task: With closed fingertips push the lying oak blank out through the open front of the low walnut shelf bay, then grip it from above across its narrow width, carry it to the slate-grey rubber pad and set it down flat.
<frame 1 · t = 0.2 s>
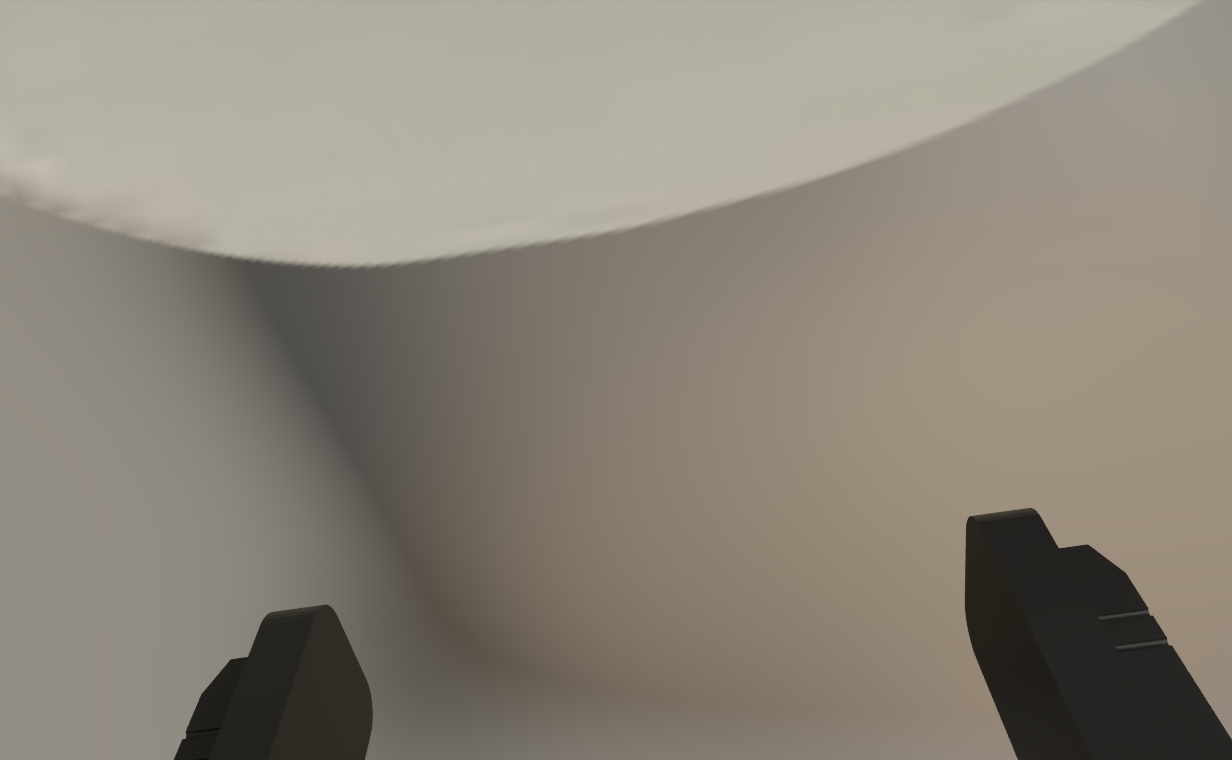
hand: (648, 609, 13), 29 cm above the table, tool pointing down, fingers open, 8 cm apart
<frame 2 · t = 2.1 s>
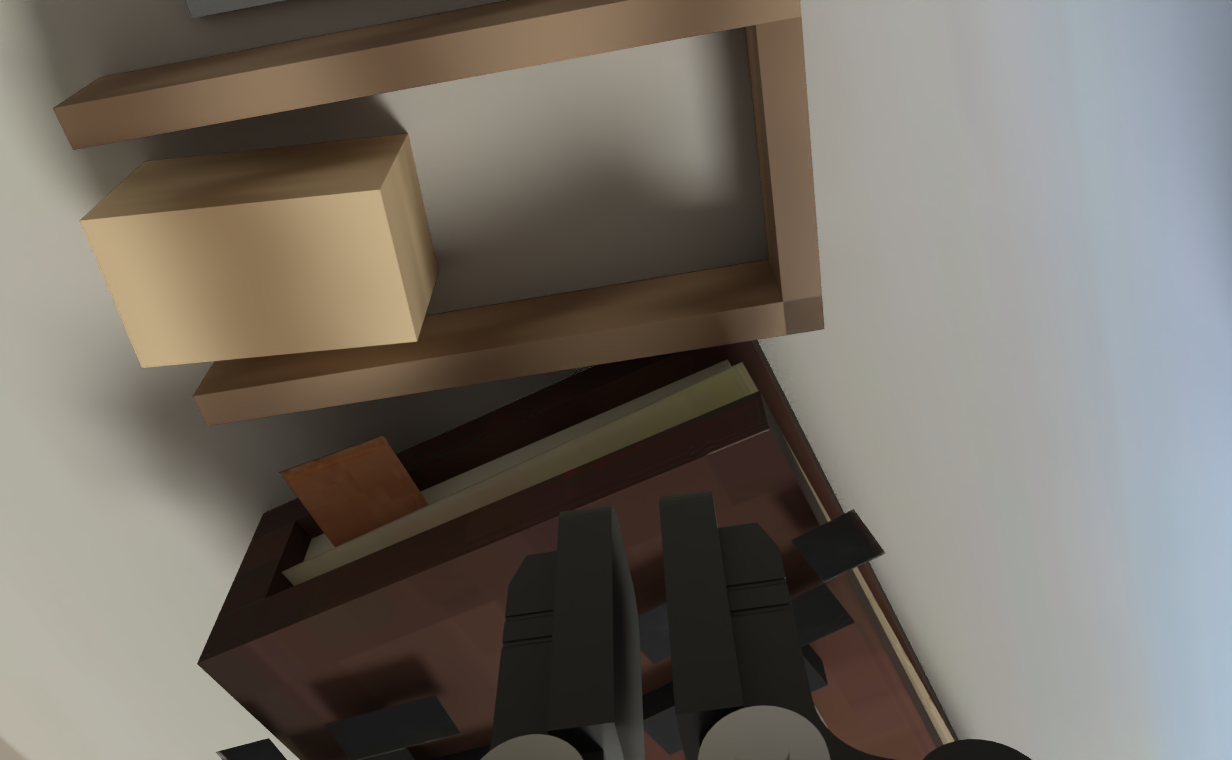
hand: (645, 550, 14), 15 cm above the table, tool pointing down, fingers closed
oak blank: (298, 216, 27), on the table
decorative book: (662, 653, 37), on the table
shelf bay: (475, 188, 27), on the table
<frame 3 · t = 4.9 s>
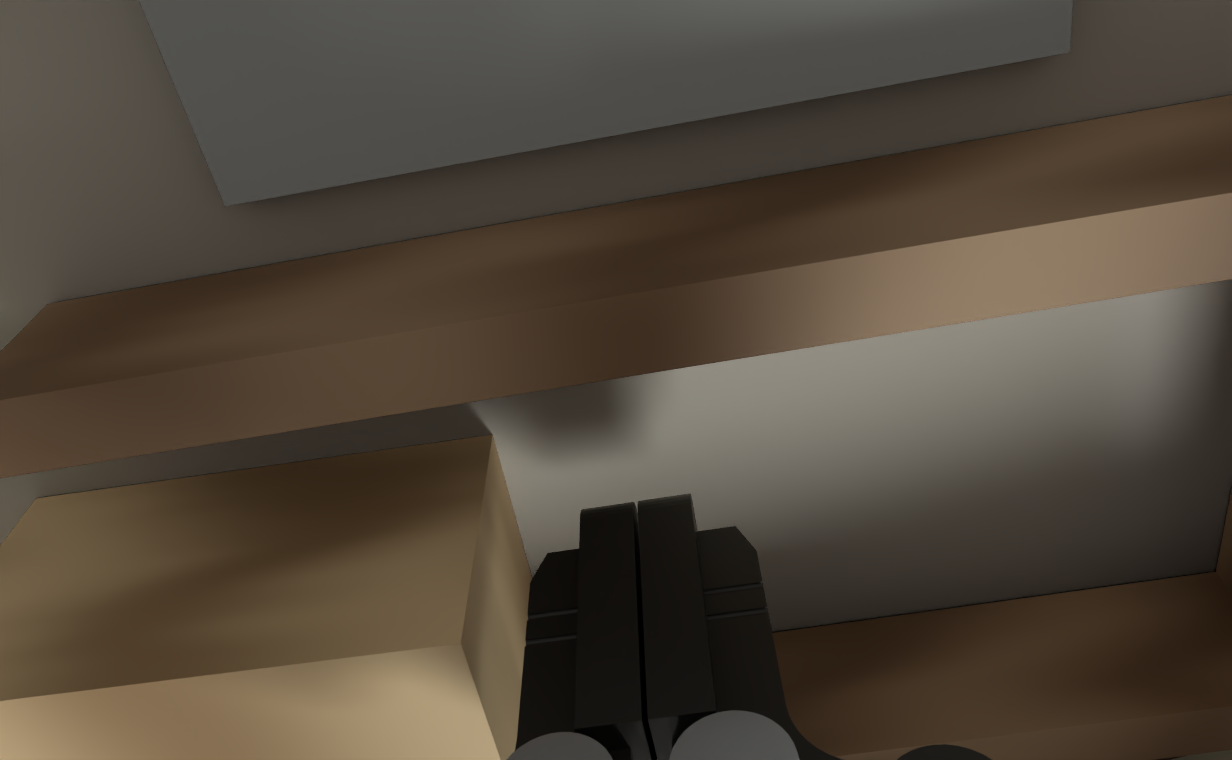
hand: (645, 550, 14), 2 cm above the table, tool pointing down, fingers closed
oak blank: (304, 566, 16), on the table, touching gripper
shelf bay: (727, 472, 15), on the table
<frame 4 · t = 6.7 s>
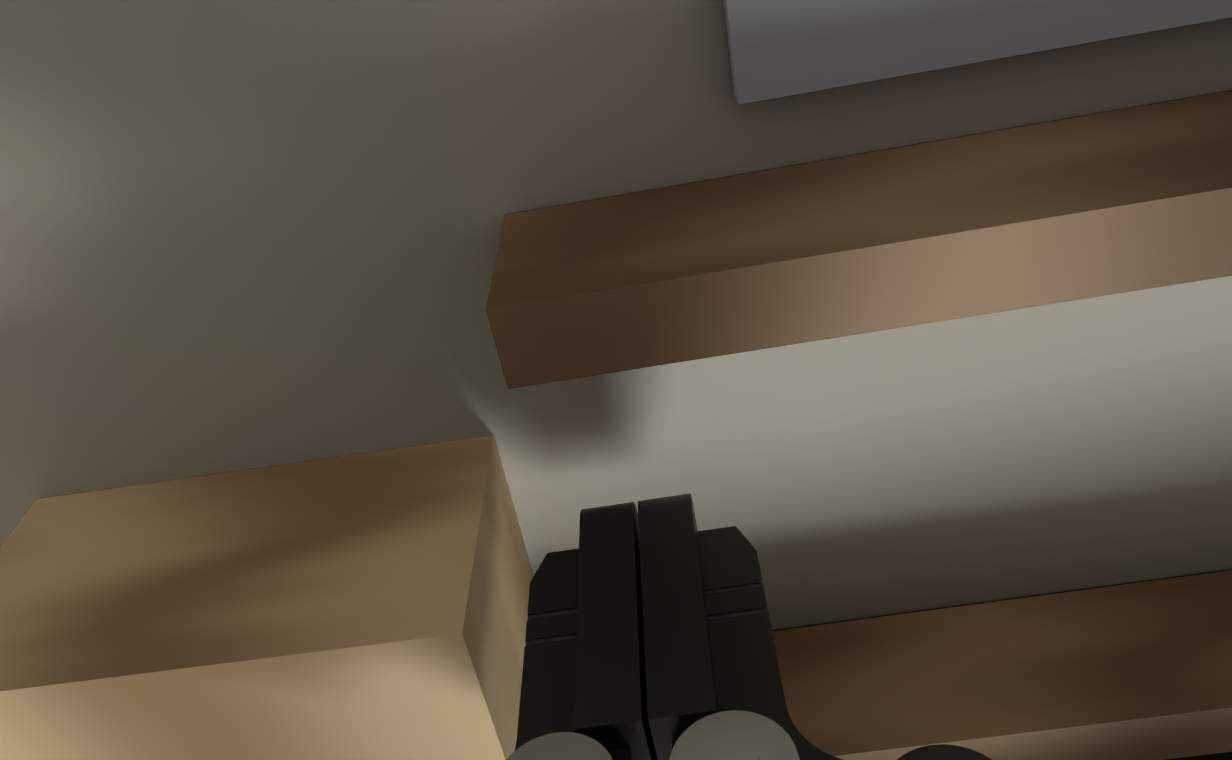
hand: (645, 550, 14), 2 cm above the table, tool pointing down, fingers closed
oak blank: (307, 560, 16), on the table
shelf bay: (1160, 405, 14), on the table
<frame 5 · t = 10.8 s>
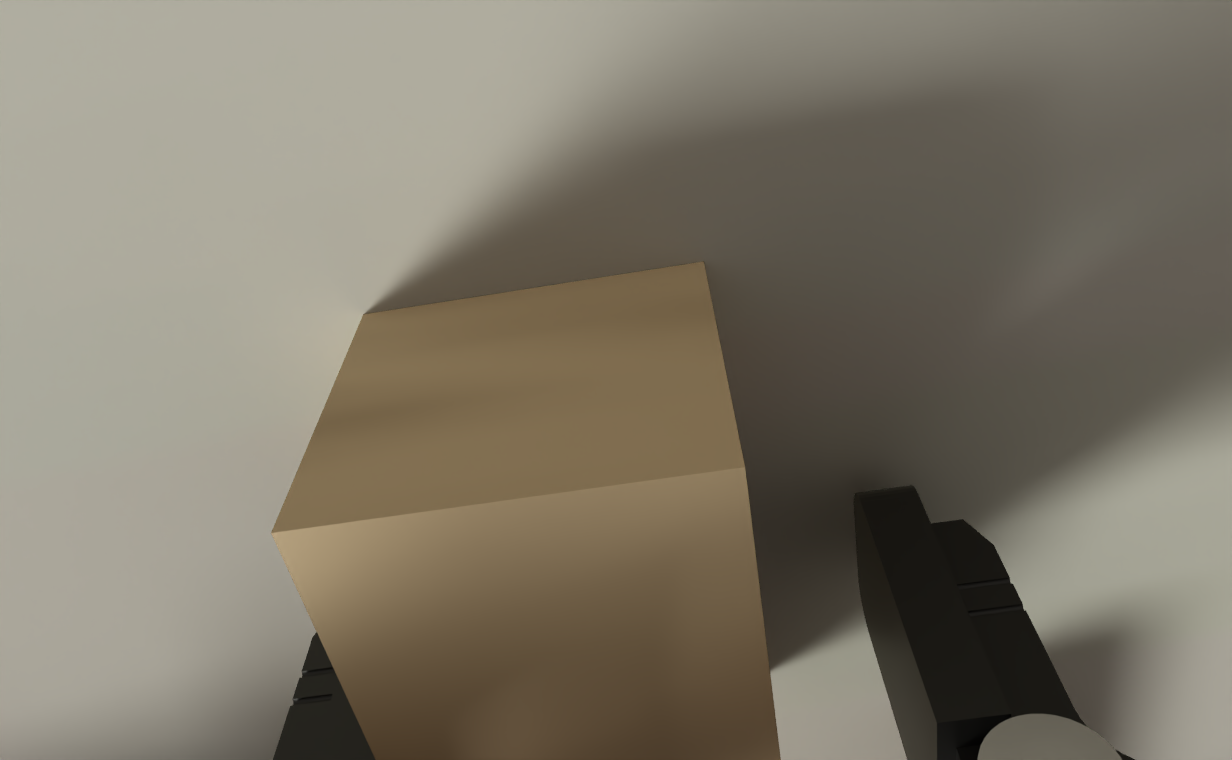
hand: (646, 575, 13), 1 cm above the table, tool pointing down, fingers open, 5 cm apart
oak blank: (586, 511, 13), on the table, touching gripper
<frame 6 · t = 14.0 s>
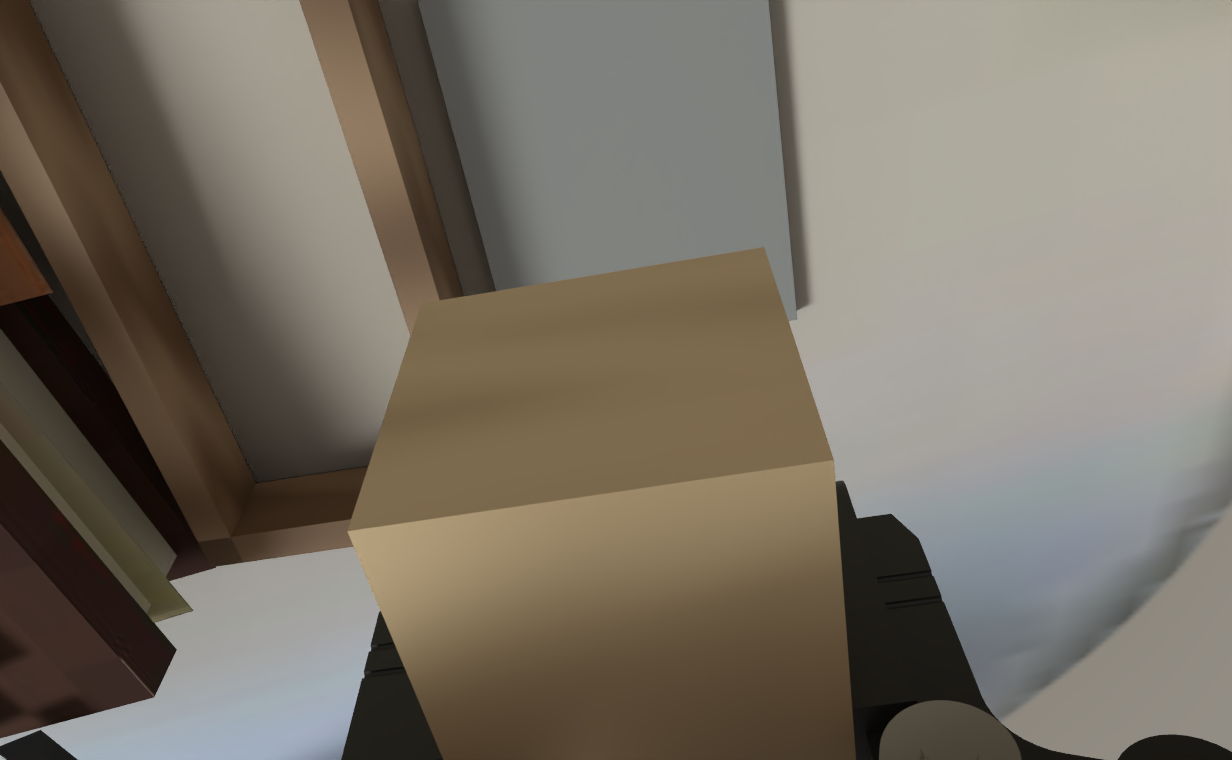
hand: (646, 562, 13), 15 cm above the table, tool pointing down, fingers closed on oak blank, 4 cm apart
oak blank: (639, 508, 13), point 14 cm above the table, touching gripper
shelf bay: (278, 247, 27), on the table
rubber pad: (624, 169, 26), on the table
when the fingers open (2 cm above the table, at t = 16.6 s): oak blank stays where it is, resting on rubber pad.
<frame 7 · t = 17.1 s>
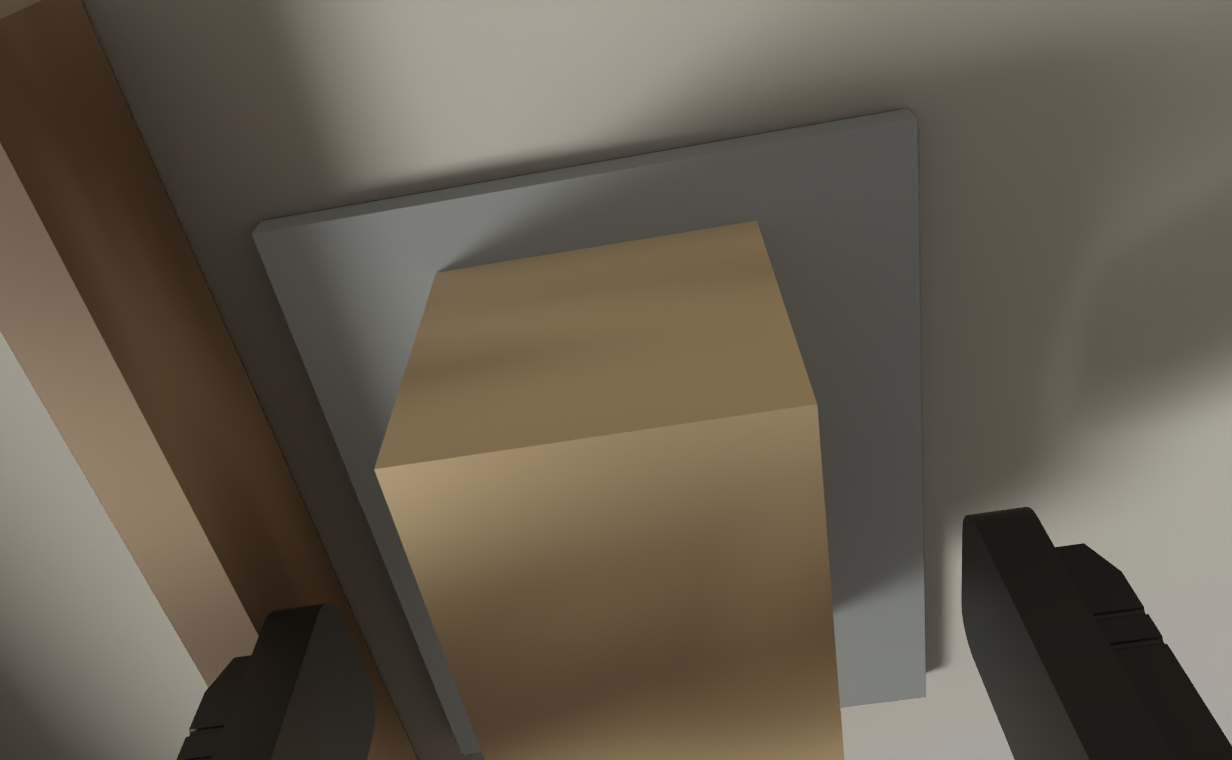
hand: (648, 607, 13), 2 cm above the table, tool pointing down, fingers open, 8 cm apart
oak blank: (638, 470, 14), resting on rubber pad
shelf bay: (54, 596, 16), on the table
rubber pad: (641, 485, 15), on the table
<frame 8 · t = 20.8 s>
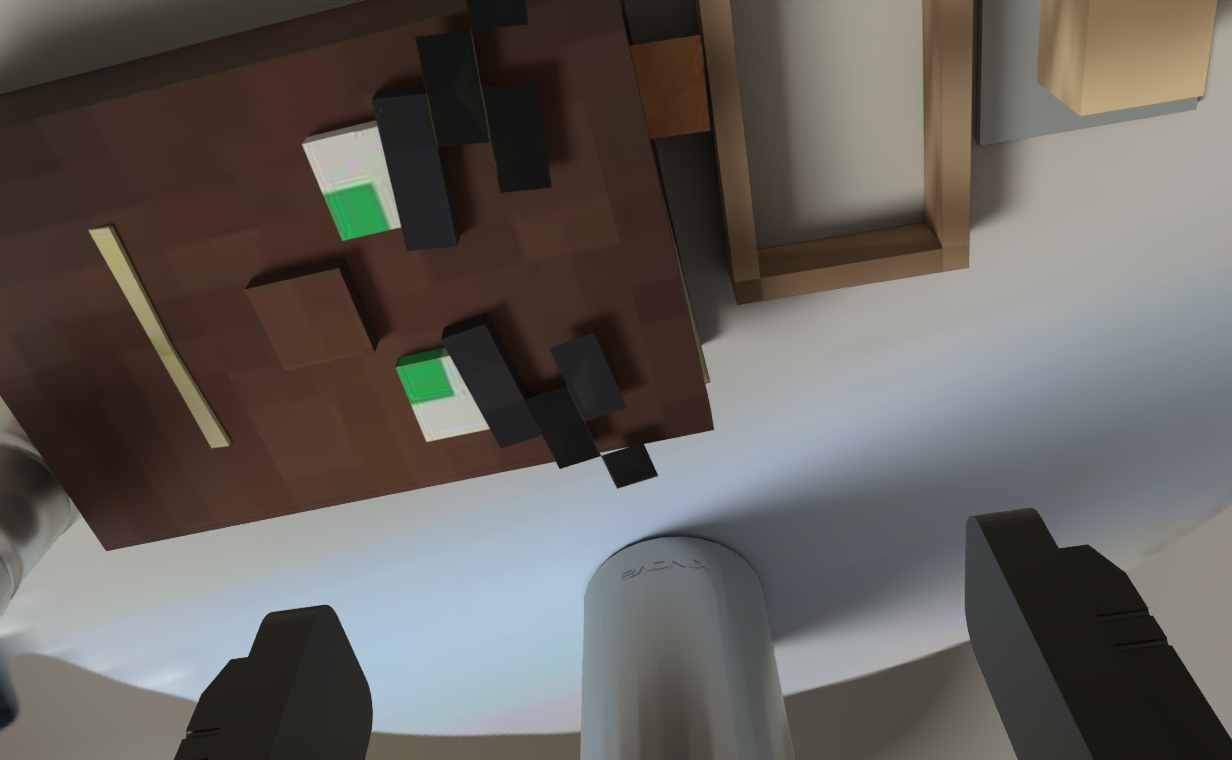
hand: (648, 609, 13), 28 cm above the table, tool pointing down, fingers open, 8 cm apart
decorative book: (357, 229, 41), on the table
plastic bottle: (54, 424, 45), on the table
shelf bay: (826, 51, 37), on the table
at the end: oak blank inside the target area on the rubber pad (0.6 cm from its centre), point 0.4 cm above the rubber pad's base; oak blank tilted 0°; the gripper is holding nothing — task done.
